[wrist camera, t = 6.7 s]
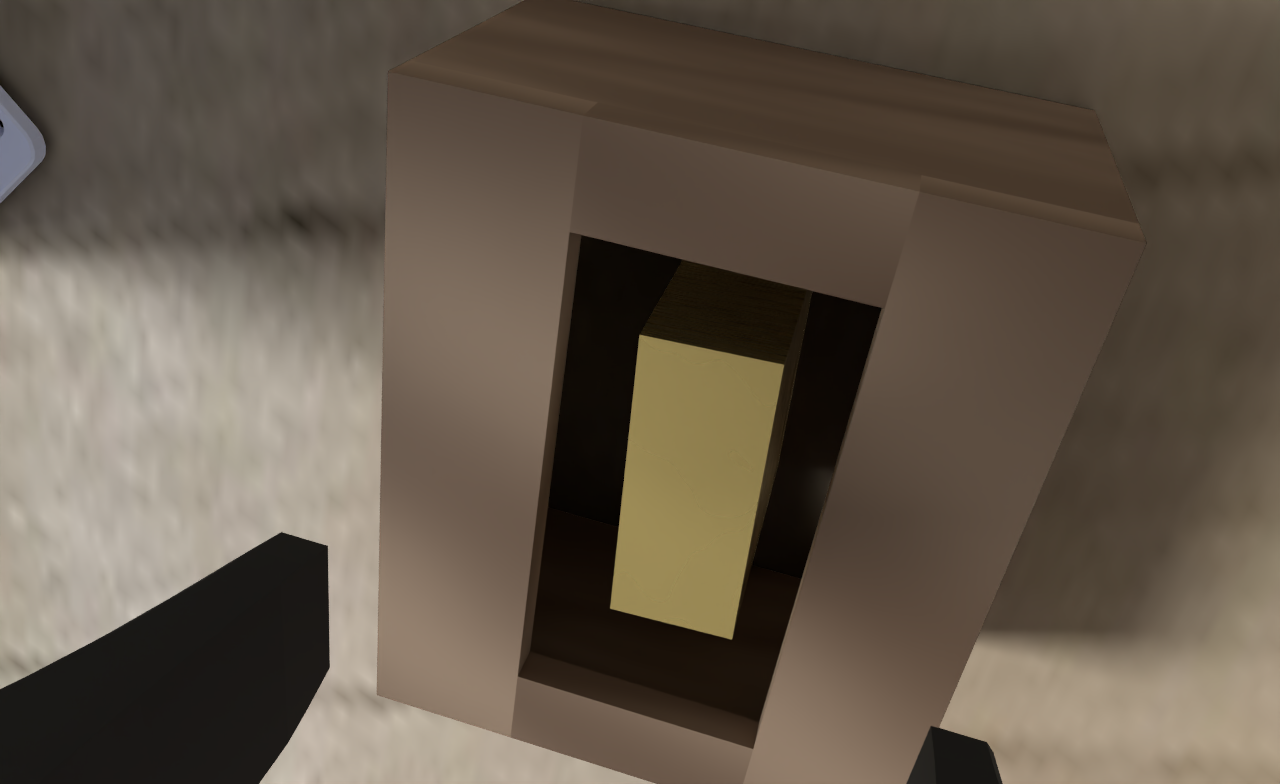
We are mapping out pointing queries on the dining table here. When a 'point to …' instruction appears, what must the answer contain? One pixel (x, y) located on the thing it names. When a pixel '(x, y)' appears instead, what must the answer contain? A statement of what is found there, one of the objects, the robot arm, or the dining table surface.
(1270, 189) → the dining table surface
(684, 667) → the box
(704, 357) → the yellow rectangular block
